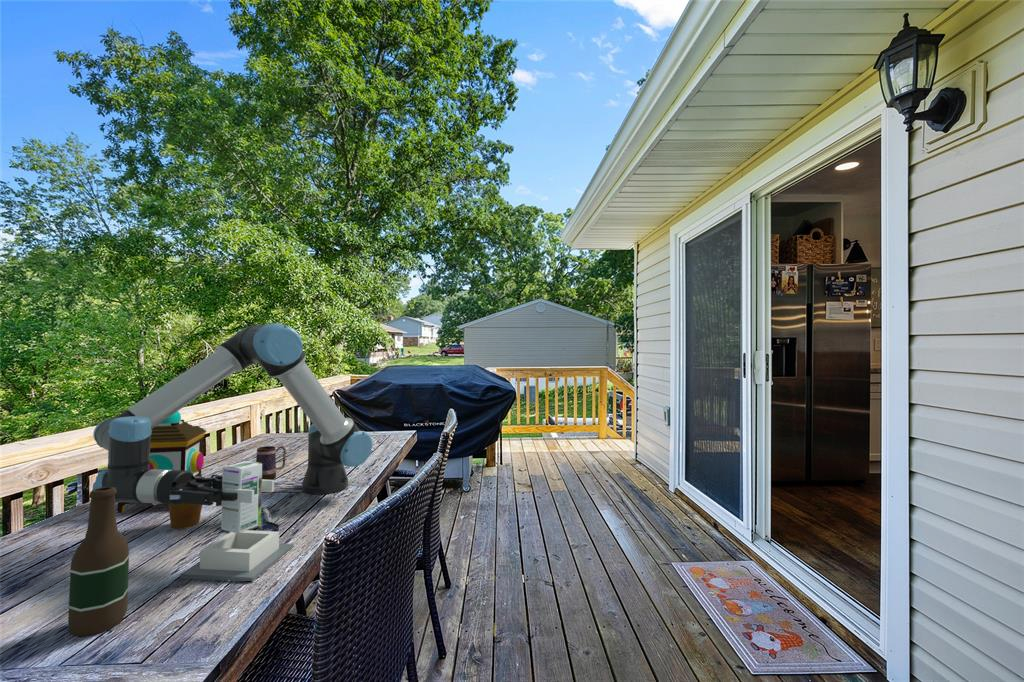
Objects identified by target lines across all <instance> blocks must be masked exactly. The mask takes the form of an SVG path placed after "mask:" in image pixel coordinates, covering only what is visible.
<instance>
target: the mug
mask: <svg viewBox="0 0 1024 682" xmlns="http://www.w3.org/2000/svg"><path fill="white" fill-rule="evenodd" d="M280 449H282V450H283V455H282V465H281V466H280V467H277V465H276V464H277V461H276V459H277V457H276V455H277V454H276V453H277V452H279V450H280ZM255 453H256V458H255V459H256V460H255V462H259V463H262V479H264V480H274V481H275V479H276V478H277V471H279V470H282V469H283V468H285V465H286V454H287V448H286V446H285V445H283V444H282V445H279V446H278V447H277V448H276V446H273V445H267V446H260V447H257V449H256V452H255Z"/></svg>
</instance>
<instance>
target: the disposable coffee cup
mask: <svg viewBox="0 0 1024 682" xmlns="http://www.w3.org/2000/svg"><path fill="white" fill-rule="evenodd" d="M195 478H198V477H195ZM167 505H168V513H169V521H170V528H171V529H173V530H184V529H189V528H193V527H195V526H197V525H199V524H200V520H201V519H200V518H201V512H202V507H203V505H199V504H188V503H182V504H178V505H175V504H167Z"/></svg>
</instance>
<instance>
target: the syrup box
mask: <svg viewBox="0 0 1024 682" xmlns="http://www.w3.org/2000/svg"><path fill="white" fill-rule="evenodd" d="M221 476H222V492H224V489H226V488H227V489H249V490H254V502H253V503H239V502H223V501H222V505H221V522H220V523H221V526H220V527H221V528H220V529H221V530H222V531H226V532H229V533H230V532H234V533H241V532H243V531H245V530H248V529H250V528H251V529H253V528H255V527H257V526H260V524H261V522H262V496H263V495H262V493H263V492H262V463H259V462H256V461H251V460H244V461H242V462H238V463H234V464H230V465H225V466H222V475H221Z"/></svg>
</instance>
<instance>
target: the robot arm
mask: <svg viewBox="0 0 1024 682" xmlns="http://www.w3.org/2000/svg"><path fill="white" fill-rule="evenodd" d="M300 335H301V334H299V333H298V332H297V330H295V329H294V328H293V327H291V326H289V325H286V324H282V323H268V324H253V325H249V326H247V327H245V328H243V329H241V330H239V332H236V333H235V334H234V335H232V336H231V337H229V338H228V339H227V340H225V341H223V342H222V343H220V344H219V345H218V346H216V348H215V349H216V350H215V352H214V353H212V354H210V355H208V356H207V357H205V358H203V359H202V360H201V361H200V362H198V363H196V364H195V365H193V366H192V367H190V368H189V369H187V370H186V371H184V372H182V373H181V374H180V375H178V376H176V377H174V378H173V379H172V380H169V382H167V383H165V384H164V385H162V386H161V387H159V388H157V389H156V390H155V391H153V392H152V393H150V394H148V395H147V396H146V397H144V398H143V399H141V400H139V401H137V402H136V403H135V404H133V405H131V406H130V407H129V408H126V410H124V411H122V412H121V413H119V414H117V415H116V416H114V417H110V418H107V419H104V420H102V421H99V423H98V424H96V426H95V428H94V430H93V433H92V434H93V439H94V441H95V442H96V444H97V446H98V447H99V448H102V449H103V450H106V451H107V453H108V454H107V456H108V457H107V468H104V469H103V470H102V471H100V472H99V473H98V474H97V475H96V477H95V481H94V482H93V483H92V490H94V489H97V488H101V487H115V488H116V490H117V493H116V494H115V503H118V502H119V503H120V502H136V504H152V506H157V505H158V504H162V505H163V504H164V505H168V504H175V505H178V504H182V503H188V504H199V505H202V506H212V505H214V504H215V507H222V501H223V502H239V503H253V502H254V490H249V489H227V488H226V489H224V492H222V475H220V474H211V476H210V477H205V476H202V477H198V478H195V477H194V476H193V474H192V473H191V472H189V471H183V470H162V469H149V463H150V445H151V433H152V428H154V427H155V426H157V425H158V424H160V423H161V422H163V421H164V420H165V419H167V418H168V417H170V416H171V415H173V414H174V413H176V412H177V411H178V412H179V411H180V410H182V409H183V408H185V407H186V406H187V405H189V404H190V403H192V402H193V401H195V400H196V399H198V398H199V397H200V396H202V395H203V394H204V393H206V392H208V391H209V390H210V389H212V388H213V387H215V386H216V385H217V384H219V383H221V382H222V381H223V380H224V379H226V378H227V377H229V376H231V375H232V374H234V373H236V372H237V373H241V372H242V371H244V370H245V369H247V368H249V367H251V366H253V365H255V364H259V365H260V366H261V367H262V369H263V370H264V372H265V373H266V374H267V375H268V377H270V378H272V379H273V378H274V379H278V380H279V381H280V383H281V384H282V385H283V386H284V388H285V389H286V391H287V392H288V393H289V394H290V396H291V397H292V399H293V400H294V401H295V402H296V403H297V405H298V406H299V407H300V409H301V411H303V412H304V414H305V415H306V416H307V418H308V419H309V421H311V423H312V424H311V425H310V426H309V427H308V433H307V437H308V443H307V444H308V445H307V446H308V447H307V468H306V471H305V473H304V476H303V480H302V482H301V491H302V493H305V494H310V495H327V493H328V494H333V493H332V492H334V493H338V492H340V490H341V491H343V489H344V490H346V489H347V488H348V487H347V486H349V478H348V475H347V474H348V473H347V471H346V469H345V467H351V468H355V467H358V466H360V465H363V464H364V463H365V462H366V461H367V460H368V458H369V457H370V456H371V454H372V451H373V450H372V449H373V446H374V444H373V438H372V436H371V435H370V434H369V433H368V432H367V431H365V430H361V429H360V428H359V427H358V426H357V424H356V423H355V421H354V420H353V419H352V418H350V417H345V416H344V415H343V413H342V412H341V410H340V409H339V407H338V406H337V405H336V403H335V402H334V401H333V399H332V397H330V395H329V394H328V392H327V391H326V389H325V388H324V387H323V385H322V384H321V383H320V382H319V380H318V378H317V377H316V376H315V374H314V373H313V372H312V370H311V368H309V366H308V364H307V363H306V357H307V354H306V353H305V351H304V350H303V340H302V337H301V336H300ZM346 487H347V488H346ZM274 491H275V479H274V480H264V479H262V493H273V492H274ZM337 491H338V492H337Z"/></svg>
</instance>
